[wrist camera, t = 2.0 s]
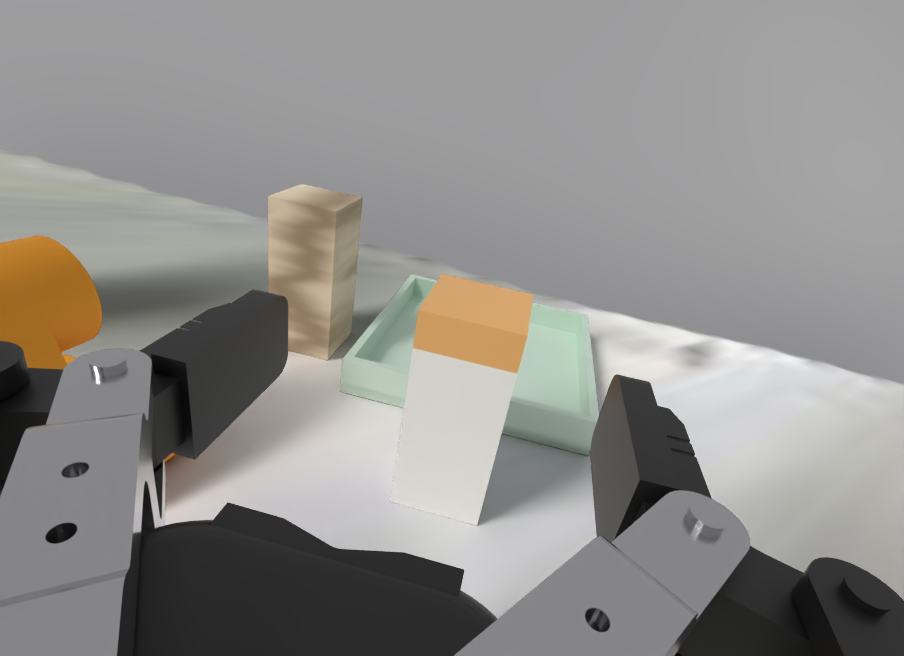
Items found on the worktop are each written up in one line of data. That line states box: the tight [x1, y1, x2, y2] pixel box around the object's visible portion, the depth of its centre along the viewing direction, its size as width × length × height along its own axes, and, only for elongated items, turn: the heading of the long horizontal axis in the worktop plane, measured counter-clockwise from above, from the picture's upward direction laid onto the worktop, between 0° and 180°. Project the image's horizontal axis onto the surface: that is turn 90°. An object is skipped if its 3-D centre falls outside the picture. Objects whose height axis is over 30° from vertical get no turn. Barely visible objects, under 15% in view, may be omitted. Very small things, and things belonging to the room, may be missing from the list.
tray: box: [340, 274, 599, 456], centre depth 43 cm, size 18×18×3 cm
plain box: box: [268, 184, 362, 360], centre depth 39 cm, size 5×5×12 cm
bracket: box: [0, 236, 176, 462], centre depth 25 cm, size 11×7×12 cm, turn 69°
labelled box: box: [390, 274, 533, 526], centre depth 27 cm, size 5×5×12 cm
